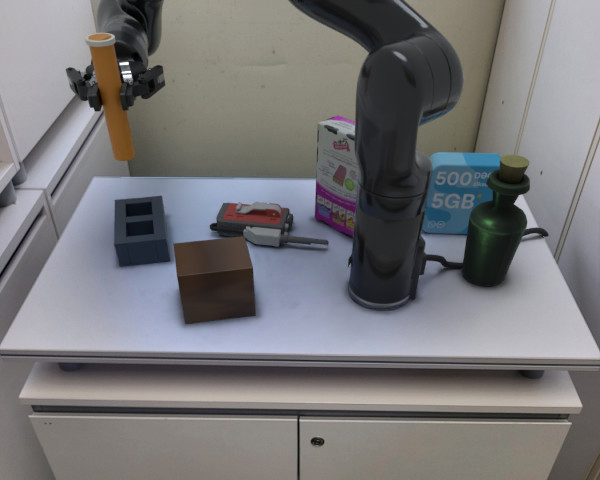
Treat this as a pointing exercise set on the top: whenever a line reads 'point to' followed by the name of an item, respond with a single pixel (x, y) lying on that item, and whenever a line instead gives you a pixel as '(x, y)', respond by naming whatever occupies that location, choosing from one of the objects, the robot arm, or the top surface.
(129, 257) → the rack
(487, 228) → the potion bottle
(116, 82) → the test tube
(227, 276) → the stand
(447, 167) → the data package
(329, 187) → the candy bar box
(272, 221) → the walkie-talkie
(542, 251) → the top surface
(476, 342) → the top surface
